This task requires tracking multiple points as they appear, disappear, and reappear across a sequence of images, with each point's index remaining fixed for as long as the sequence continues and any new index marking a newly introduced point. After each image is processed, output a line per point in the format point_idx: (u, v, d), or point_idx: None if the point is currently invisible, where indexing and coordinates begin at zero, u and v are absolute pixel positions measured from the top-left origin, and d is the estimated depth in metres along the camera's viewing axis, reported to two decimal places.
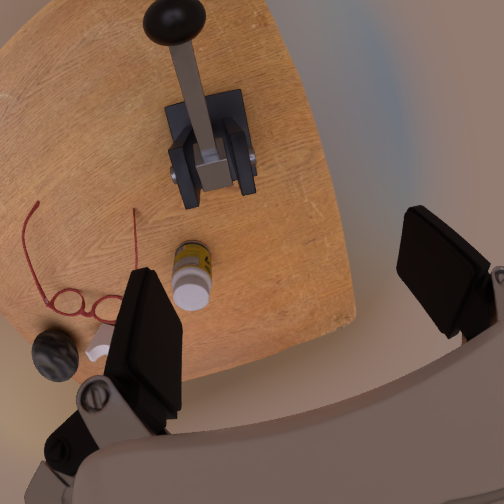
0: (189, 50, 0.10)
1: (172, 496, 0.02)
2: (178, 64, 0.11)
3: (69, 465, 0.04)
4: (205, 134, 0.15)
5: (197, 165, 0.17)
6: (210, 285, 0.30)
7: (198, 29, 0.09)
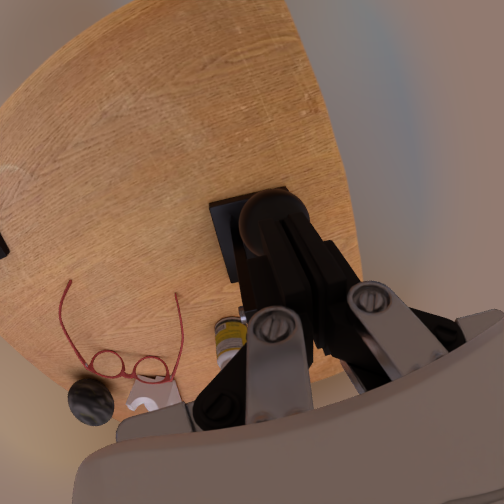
0: None
1: (172, 496, 0.02)
2: None
3: (235, 423, 0.05)
4: None
5: None
6: None
7: None
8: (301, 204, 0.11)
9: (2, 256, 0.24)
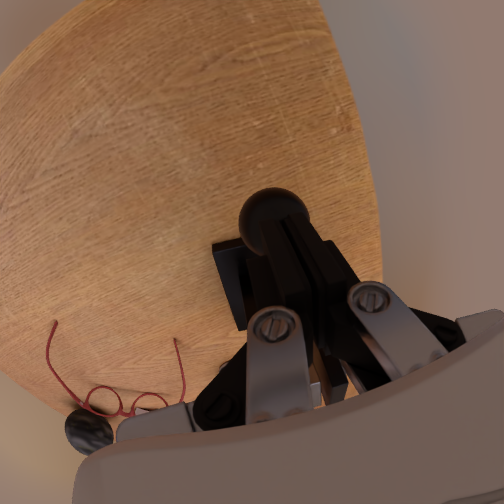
0: None
1: (172, 496, 0.02)
2: None
3: (235, 423, 0.05)
4: None
5: None
6: None
7: None
8: (296, 195, 0.11)
9: None
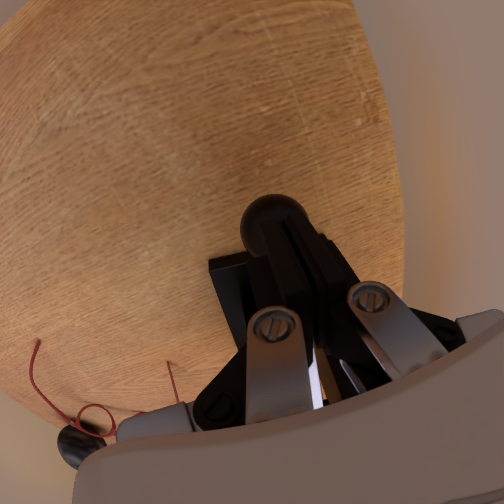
0: None
1: (172, 496, 0.02)
2: None
3: (235, 423, 0.05)
4: (312, 391, 0.11)
5: None
6: None
7: None
8: None
9: None
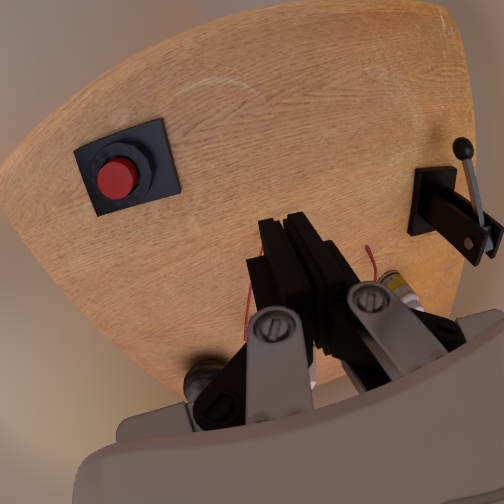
0: (471, 162, 0.22)
1: (172, 496, 0.02)
2: (469, 168, 0.22)
3: (235, 423, 0.05)
4: (480, 211, 0.23)
5: None
6: None
7: (473, 152, 0.22)
8: None
9: (172, 193, 0.26)
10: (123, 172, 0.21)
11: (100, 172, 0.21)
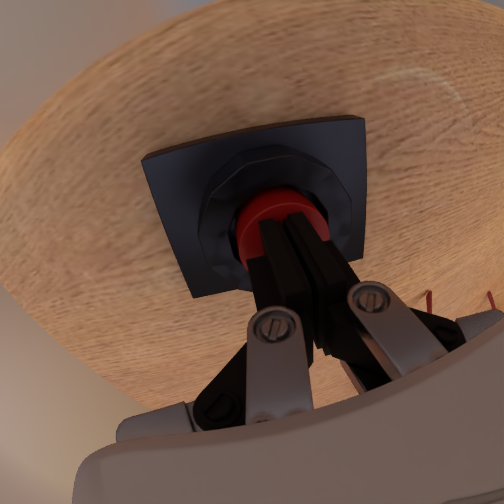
0: None
1: (172, 496, 0.02)
2: None
3: (235, 423, 0.05)
4: None
5: None
6: None
7: None
8: None
9: (351, 258, 0.15)
10: None
11: (253, 224, 0.10)
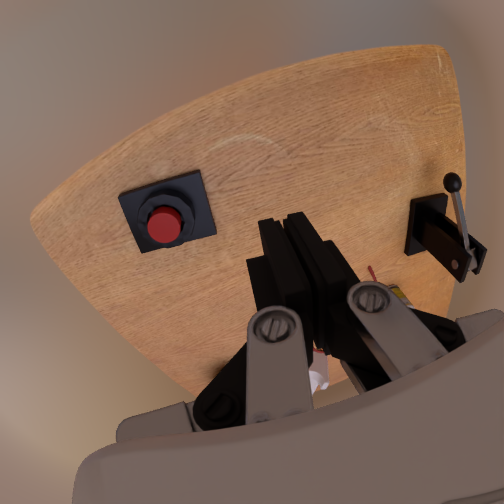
0: (459, 194, 0.28)
1: (172, 496, 0.02)
2: (457, 200, 0.28)
3: (235, 423, 0.05)
4: (466, 236, 0.29)
5: (467, 251, 0.28)
6: None
7: (461, 185, 0.28)
8: None
9: (210, 234, 0.32)
10: (171, 221, 0.27)
11: (150, 221, 0.27)
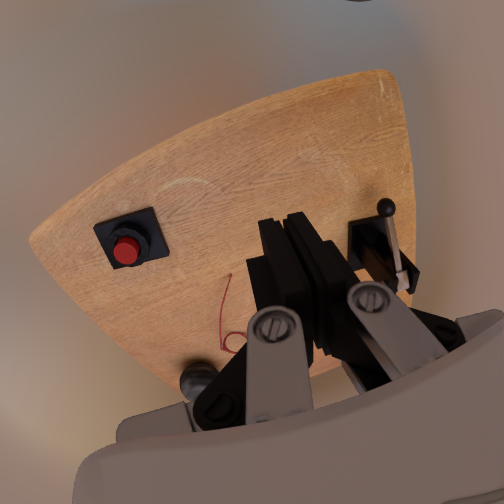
0: (392, 219, 0.36)
1: (172, 496, 0.02)
2: (389, 224, 0.36)
3: (235, 423, 0.05)
4: (398, 258, 0.36)
5: (396, 273, 0.35)
6: None
7: None
8: None
9: (163, 255, 0.40)
10: (130, 249, 0.35)
11: (115, 248, 0.34)
